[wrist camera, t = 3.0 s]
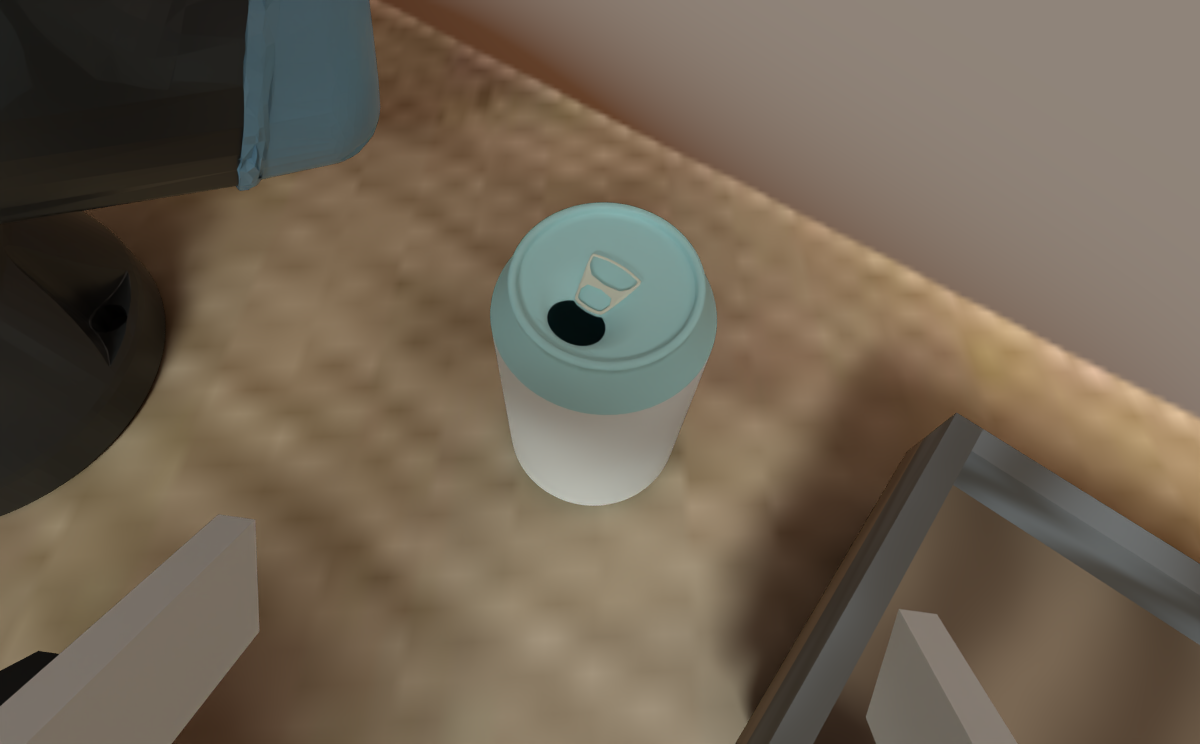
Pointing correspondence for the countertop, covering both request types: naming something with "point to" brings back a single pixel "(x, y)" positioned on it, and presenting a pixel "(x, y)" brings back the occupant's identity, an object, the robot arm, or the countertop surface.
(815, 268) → the countertop surface
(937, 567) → the grey rectangular tray
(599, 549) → the countertop surface
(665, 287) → the can
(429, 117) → the countertop surface
